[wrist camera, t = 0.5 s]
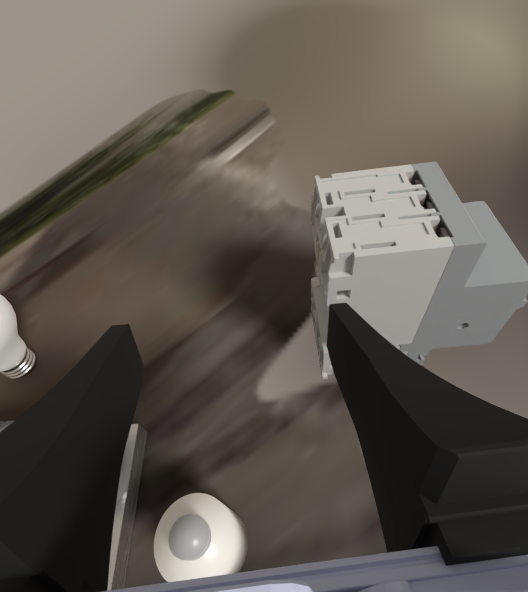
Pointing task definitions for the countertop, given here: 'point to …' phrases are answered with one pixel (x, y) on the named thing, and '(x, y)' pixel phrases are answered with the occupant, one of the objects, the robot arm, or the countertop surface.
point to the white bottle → (199, 539)
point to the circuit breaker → (411, 260)
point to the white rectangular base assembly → (123, 504)
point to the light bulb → (13, 345)
